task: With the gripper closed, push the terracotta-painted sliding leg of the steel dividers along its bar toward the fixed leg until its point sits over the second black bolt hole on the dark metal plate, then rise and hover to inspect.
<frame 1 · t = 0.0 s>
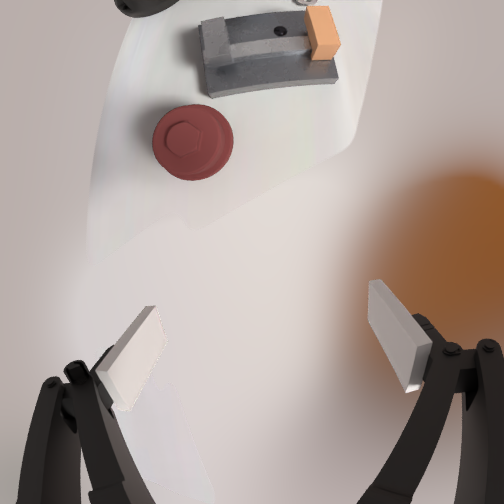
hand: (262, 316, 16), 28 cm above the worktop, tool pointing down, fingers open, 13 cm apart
sliding leg: (320, 33, 28), point 6 cm above the worktop, slide at 0.0 cm
mechanical component: (207, 146, 40), on the worktop
hole plate: (266, 53, 34), on the worktop
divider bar: (267, 58, 35), resting on hole plate
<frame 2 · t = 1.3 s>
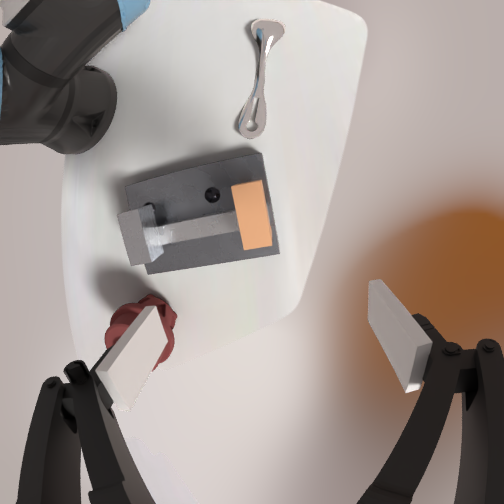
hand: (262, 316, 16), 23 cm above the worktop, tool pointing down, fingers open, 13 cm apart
sliding leg: (253, 211, 31), point 6 cm above the worktop, slide at 0.0 cm
mechanical component: (159, 310, 43), on the worktop
hole plate: (203, 214, 38), on the worktop
stirrer: (261, 74, 32), on the worktop
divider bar: (204, 221, 38), resting on hole plate
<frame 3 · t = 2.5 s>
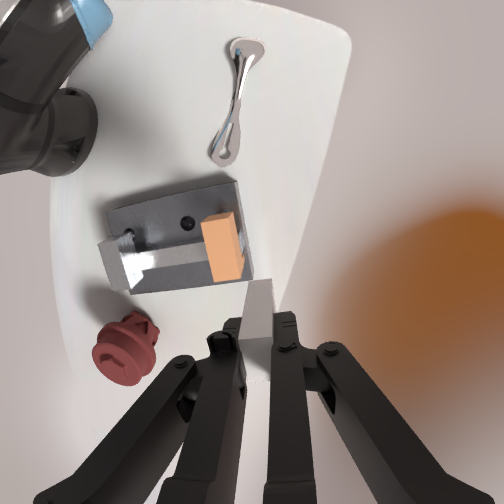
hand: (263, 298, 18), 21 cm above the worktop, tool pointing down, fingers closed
sliding leg: (224, 243, 32), point 6 cm above the worktop, slide at 0.0 cm
mechanical component: (143, 325, 45), on the worktop
hole plate: (181, 238, 39), on the worktop
stirrer: (238, 98, 33), on the worktop
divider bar: (182, 245, 39), resting on hole plate
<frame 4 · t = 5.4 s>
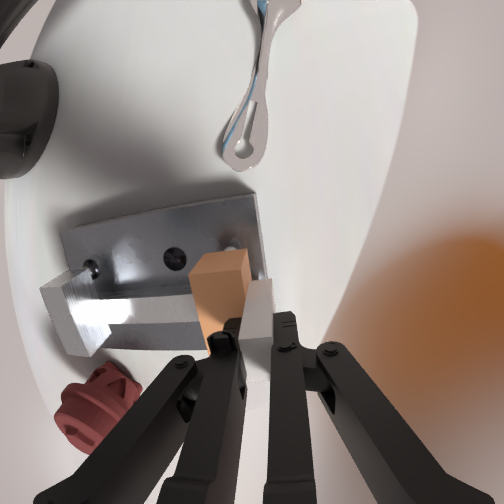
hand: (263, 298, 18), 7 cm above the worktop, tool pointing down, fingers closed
sliding leg: (231, 302, 19), point 6 cm above the worktop, slide at 0.3 cm, touching gripper
mechanical component: (121, 378, 31), on the worktop
hole plate: (167, 276, 26), on the worktop
stirrer: (262, 65, 20), on the worktop
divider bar: (169, 286, 26), resting on hole plate
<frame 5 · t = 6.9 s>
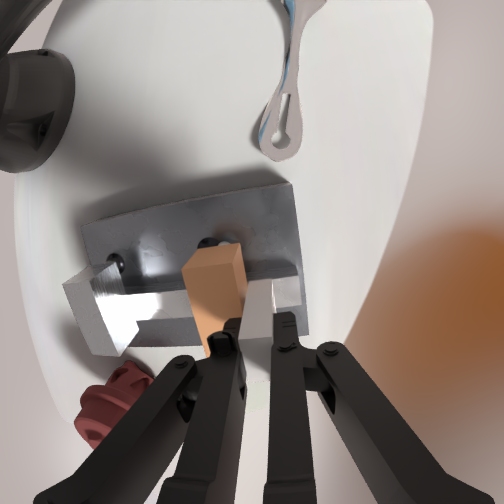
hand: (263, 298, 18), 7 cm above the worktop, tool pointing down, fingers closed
sliding leg: (225, 296, 19), point 6 cm above the worktop, slide at 3.7 cm
mechanical component: (142, 378, 31), on the worktop
hole plate: (196, 269, 25), on the worktop
stirrer: (292, 58, 20), on the worktop
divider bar: (198, 279, 26), resting on hole plate
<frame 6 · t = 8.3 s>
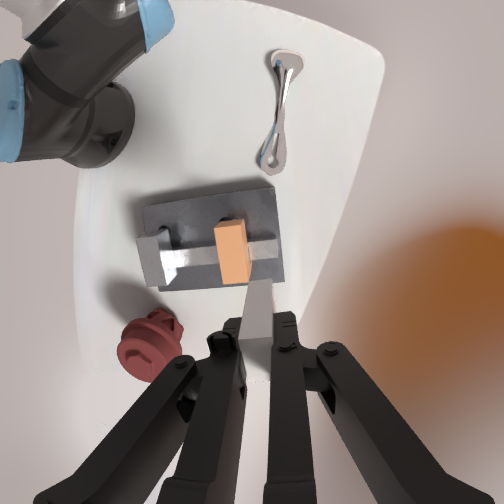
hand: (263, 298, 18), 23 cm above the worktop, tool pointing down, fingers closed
sliding leg: (234, 248, 34), point 6 cm above the worktop, slide at 3.7 cm
mechanical component: (166, 323, 46), on the worktop
hole plate: (215, 239, 41), on the worktop
stirrer: (280, 108, 35), on the worktop
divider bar: (216, 245, 41), resting on hole plate
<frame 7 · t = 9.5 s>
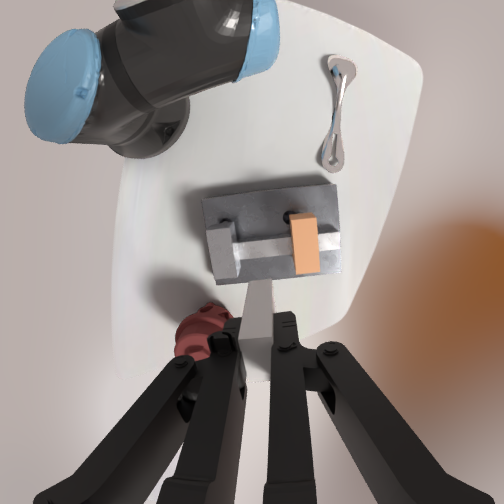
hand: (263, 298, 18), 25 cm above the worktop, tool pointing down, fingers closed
sliding leg: (303, 240, 36), point 6 cm above the worktop, slide at 3.7 cm
mechanical component: (216, 317, 47), on the worktop
hole plate: (273, 232, 42), on the worktop
stirrer: (336, 111, 36), on the worktop
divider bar: (274, 238, 42), resting on hole plate
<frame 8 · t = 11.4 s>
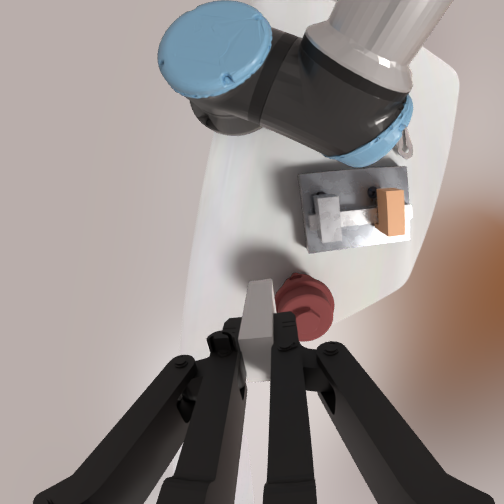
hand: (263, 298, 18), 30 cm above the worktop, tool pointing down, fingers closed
sliding leg: (388, 210, 39), point 6 cm above the worktop, slide at 3.7 cm
mechanical component: (299, 287, 51), on the worktop
hole plate: (355, 206, 45), on the worktop
stirrer: (400, 107, 40), on the worktop
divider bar: (355, 211, 46), resting on hole plate
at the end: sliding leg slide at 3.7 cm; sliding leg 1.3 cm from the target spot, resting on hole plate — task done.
